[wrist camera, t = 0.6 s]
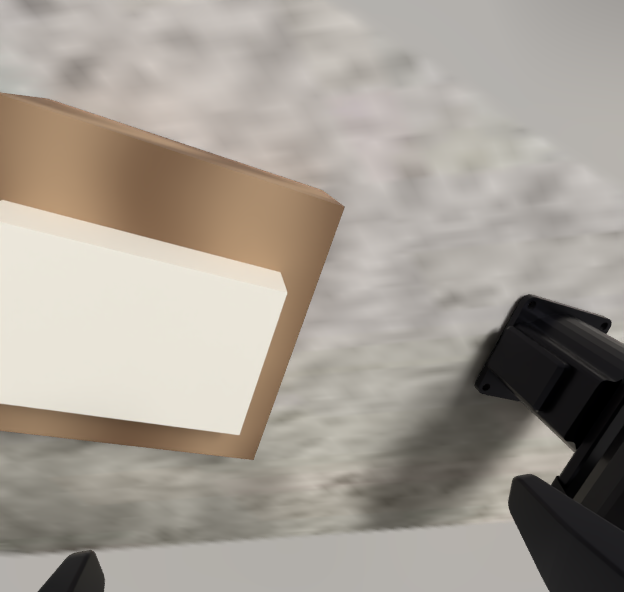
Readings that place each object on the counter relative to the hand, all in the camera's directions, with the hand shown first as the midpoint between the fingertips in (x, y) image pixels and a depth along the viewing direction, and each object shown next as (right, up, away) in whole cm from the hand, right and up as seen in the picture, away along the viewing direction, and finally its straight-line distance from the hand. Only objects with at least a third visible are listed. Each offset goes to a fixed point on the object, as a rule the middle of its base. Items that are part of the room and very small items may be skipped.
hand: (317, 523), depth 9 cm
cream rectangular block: (-6, +4, +6) cm, 10 cm away
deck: (-7, +6, +10) cm, 13 cm away
